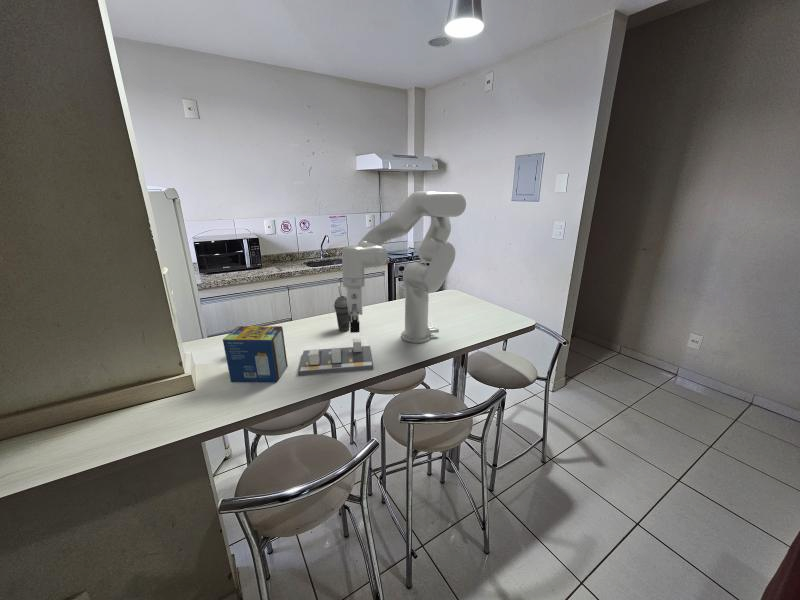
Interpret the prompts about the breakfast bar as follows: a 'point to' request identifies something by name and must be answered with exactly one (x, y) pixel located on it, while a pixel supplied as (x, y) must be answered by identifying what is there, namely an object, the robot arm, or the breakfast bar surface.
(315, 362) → the switch
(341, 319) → the beverage cup
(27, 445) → the breakfast bar surface
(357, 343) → the switch
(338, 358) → the switch middle
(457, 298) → the breakfast bar surface
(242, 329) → the protein box
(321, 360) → the switch panel
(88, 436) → the breakfast bar surface
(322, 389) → the breakfast bar surface
